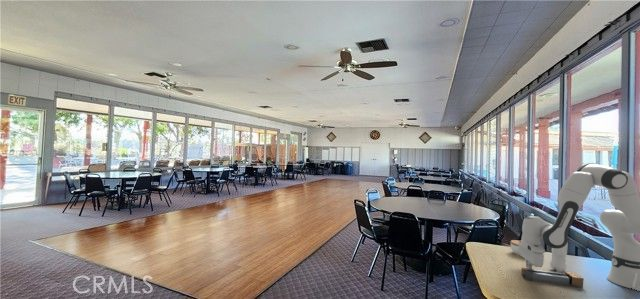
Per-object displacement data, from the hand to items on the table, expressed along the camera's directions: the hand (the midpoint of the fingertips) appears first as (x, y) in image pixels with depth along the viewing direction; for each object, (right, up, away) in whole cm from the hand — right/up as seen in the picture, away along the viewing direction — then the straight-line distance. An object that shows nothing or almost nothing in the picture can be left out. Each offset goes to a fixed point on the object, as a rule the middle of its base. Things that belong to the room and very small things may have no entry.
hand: (528, 268), depth 164 cm
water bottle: (+20, -4, +4) cm, 21 cm away
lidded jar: (+14, -3, +28) cm, 32 cm away
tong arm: (+3, -3, -7) cm, 8 cm away
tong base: (+5, -3, -9) cm, 11 cm away
